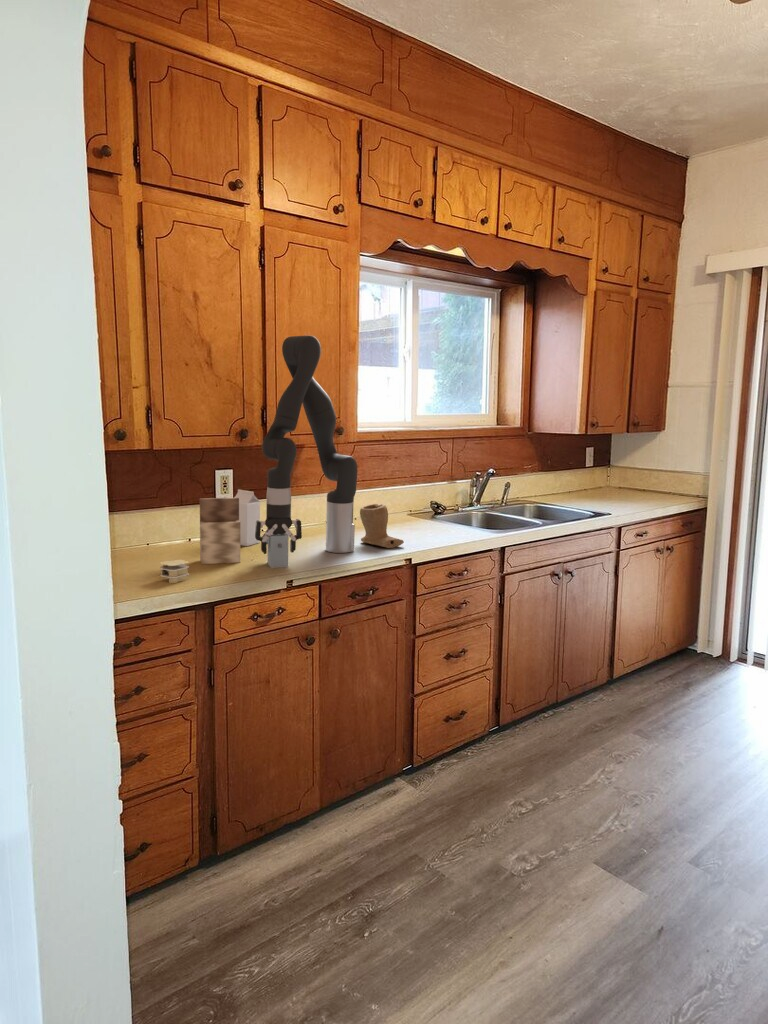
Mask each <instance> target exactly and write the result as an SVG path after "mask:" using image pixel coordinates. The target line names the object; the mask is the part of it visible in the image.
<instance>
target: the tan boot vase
mask: <svg viewBox="0 0 768 1024" xmlns="http://www.w3.org/2000/svg"><path fill="white" fill-rule="evenodd" d="M359 509H360V510H359V516H360V519H361V523H362V525H363V528H364V531H365V536H363V537H361V538H360V541H361V542H363V543H366V544H370V545H374V546H377V547H381V548H382V547H383V548H387V549H393V548H397V547H400V546H401V545H403V544H404V540H403V539H400V538H397V537H392V536H389V535H388V533H387V529H388V521H389V510H388V507H387V506H386V504H385V503H381V504H377V503H372V504H367V505H364V506H361V507H360V508H359Z"/></svg>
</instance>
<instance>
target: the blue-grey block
mask: <svg viewBox="0 0 768 1024" xmlns="http://www.w3.org/2000/svg"><path fill="white" fill-rule="evenodd" d="M289 538H290V537H289V535H288V534H287V533H285V534H275V535H274V534H271V536H270V537H269V538H268V539H267V540H266V542H267V564H268V566H269V567H270V568H271V569H272V568H273V567H274V568H288V567H289V542H290V540H289Z"/></svg>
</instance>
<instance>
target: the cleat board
mask: <svg viewBox="0 0 768 1024" xmlns="http://www.w3.org/2000/svg"><path fill="white" fill-rule="evenodd" d="M199 545H200V546H199V547H200V548H199V551H200V553H199V554H200V560H199V561H200V564H201V565H210V564H211V565H213V564H231V563H233V564H235V563H241V545H240V521H239V498H234V497H209V498H208V497H206V498H201V497H200V498H199Z"/></svg>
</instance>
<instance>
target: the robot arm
mask: <svg viewBox="0 0 768 1024" xmlns="http://www.w3.org/2000/svg"><path fill="white" fill-rule="evenodd" d="M281 351H282V352H281V353H282V357H283V359H284V360H283V361H284V363H285V365H286V368H287V369H288V370H289V371H288V372H289V373H290V375H291V378H292V379H291V382H290V383H289V385H288V386H287V387H286V389H285V390H284V392H283V393H282V394H281V396H280V399H279V400H278V402H277V408H276V412H275V415H274V419H273V422H272V424H271V425H270V427H269V429H268V431H267V433H266V434H265V437H264V438H263V442H262V448H261V449H262V453H263V456H264V457H265V458H266V459H269V460H275V461H277V465H276V467H271V468H269V469H268V471H267V476H266V477H267V482H266V483H267V484H266V485H267V488H266V489H267V490H266V507H265V508H266V509H265V512H266V515H265V516H266V518H265V520H260V521H259V520H257V521H256V529H255V538H256V540H259V541H260V545H261V546H260V551H261V553H263V554H264V555H266V554H268V544H267V542H266V540H267V539H268V538H269V537H270V536H271V534H274V535H275V534H285V533H287V534H288V536H289V538H290V540H289V542H290V543H289V544H290V545H289V550H290V553H294V552H295V551H296V549H297V548H296V547H297V546H296V545H297V541H298V540H301V539H302V537H303V536H302V533H303V532H302V521H301V520H300V519H299V518H296V519H292V491H291V474H292V471H293V466H294V463H295V460H296V455H297V446H296V443H295V441H294V440H293V439H291V438H289V437H285V436H286V434H287V433H291V432H294V431H295V430H296V429H297V425H298V421H299V418H300V413H301V409H302V406H303V409H304V413H305V416H306V419H307V422H308V424H309V426H310V430H311V433H312V435H313V439H314V443H315V446H316V449H317V454H318V457H319V462H320V467H321V470H322V472H323V475H324V477H325V478H326V479H327V480H329V481H333V482H336V488H335V489H334V490H331V491H329V492H327V494H326V514H325V516H326V520H325V521H326V522H325V523H326V526H325V551H327V552H329V553H333V554H334V553H335V554H347V553H350V552H355V527H356V525H355V524H354V505H355V504H354V499H355V495H356V493H357V492H356V491H357V481H358V471H359V470H358V469H359V468H358V463H357V461H356V459H355V458H354V457H353V456H352V455H346V454H339V453H338V451H337V448H336V446H335V442H334V434H335V429H336V426H337V416H336V412H335V408H334V406H333V402H332V400H331V398H330V395H328V394H327V392H326V391H325V390H324V388H322V386H321V385H320V384H319V383H318V382H317V380H316V379H315V377H314V374H315V371H316V369H317V367H318V364H319V362H320V359H321V356H322V355H321V354H322V347H321V343H320V341H319V339H318V338H317V337H315V336H314V335H294V336H288V337H285V339H284V340H283V342H282V346H281ZM292 525H293V526H294V527H295V531H296V534H295V535H294V534H293V532H292V531H291V530H290V528H291V526H292ZM264 526H265V527H266V528H267V529H266V530H264V533H263V534H262V536H261V529H263V528H264Z"/></svg>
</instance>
